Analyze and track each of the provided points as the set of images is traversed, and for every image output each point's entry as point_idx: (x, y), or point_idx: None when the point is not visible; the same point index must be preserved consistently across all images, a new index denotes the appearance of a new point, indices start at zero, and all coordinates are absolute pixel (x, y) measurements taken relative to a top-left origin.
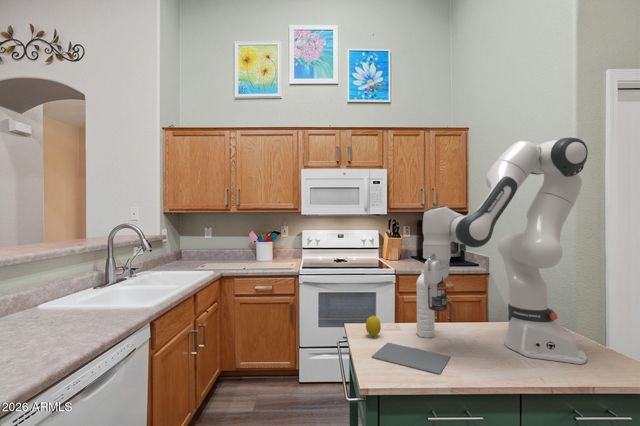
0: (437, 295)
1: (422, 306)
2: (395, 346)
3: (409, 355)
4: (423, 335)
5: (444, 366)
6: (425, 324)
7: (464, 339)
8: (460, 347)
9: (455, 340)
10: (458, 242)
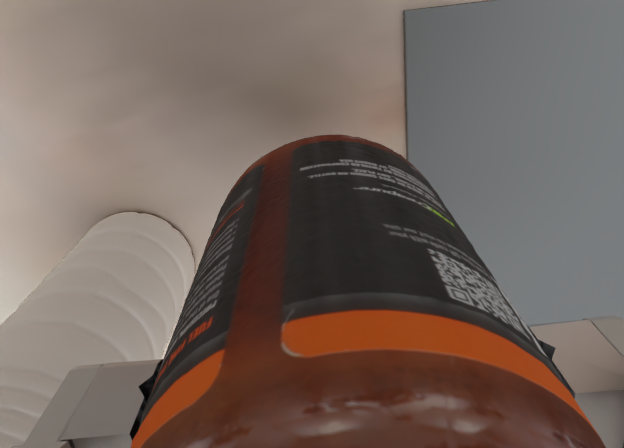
0: (552, 323)
1: None
2: None
3: (529, 211)
4: (192, 260)
5: None
6: (166, 290)
7: (3, 27)
8: (183, 4)
9: (78, 76)
10: None
